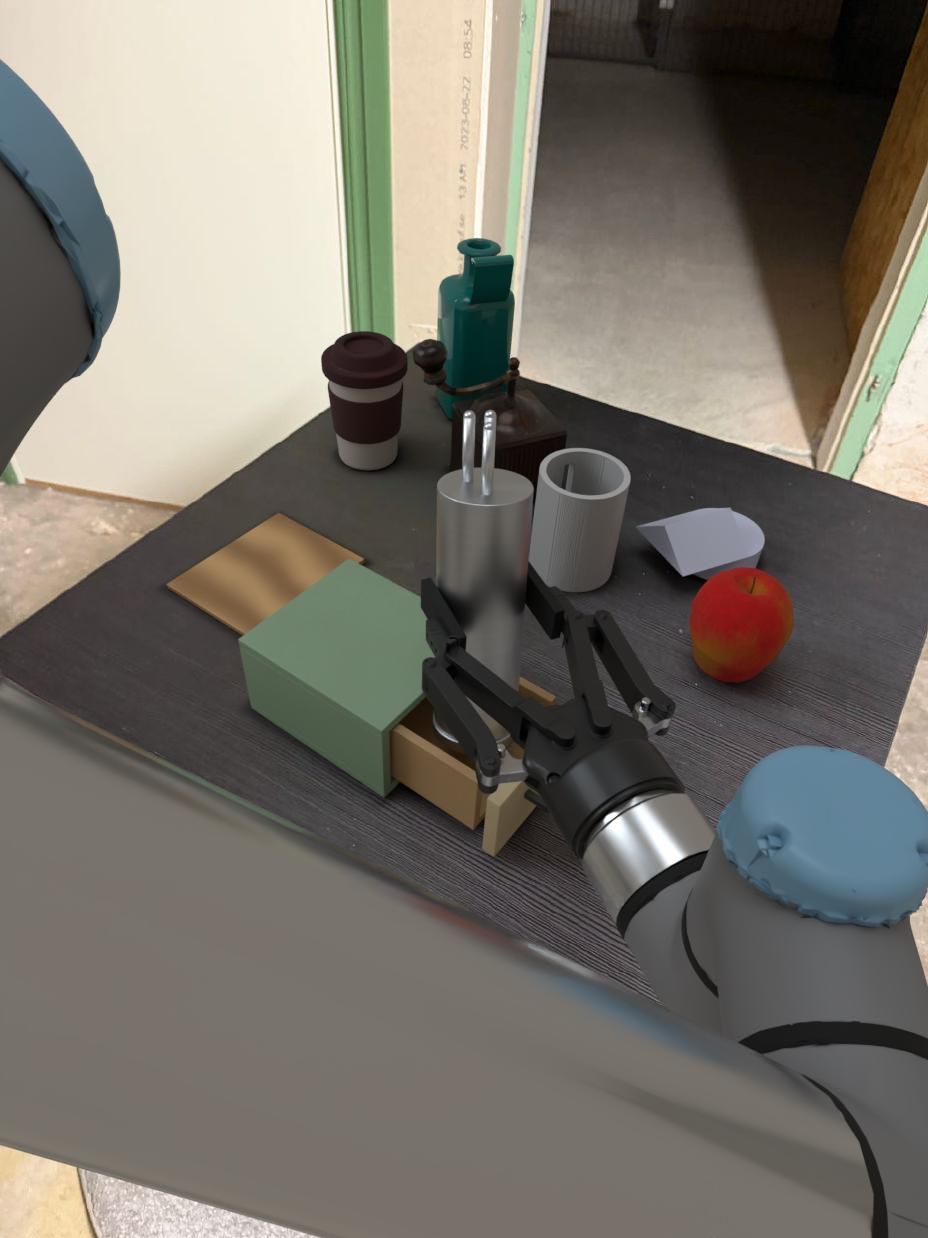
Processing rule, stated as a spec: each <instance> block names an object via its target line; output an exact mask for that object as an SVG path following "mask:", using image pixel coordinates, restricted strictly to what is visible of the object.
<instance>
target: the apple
mask: <svg viewBox="0 0 928 1238" xmlns="http://www.w3.org/2000/svg"><path fill="white" fill-rule="evenodd" d="M794 617H795V616H794V607H793V602H792V597H791V595H790V594H789V592H788V591H787V590H786V589H785V587H784V586H783V585H782V584H781V582H780V581H779V580H778V579H777V578H776V577H774V576H772V575H771V574H770V573H768V572H766V571H764V570H762V569H759V568H757V567H756V568H748V567H739V568H734V569H730V570H726V571H722V572H720V573H718V574H716V575H714V576H713V577H711V578H710V579H709V580H707V581H706V582H705V583H704V584H703V585H702V586H701V587H700V588H699V590H698V591H697V593H696V595H695V596H694V599H693V602H692V606H691V611H690V617H689V621H688V625H689V632H690V638H691V639H690V640H691V646H692V656H693V660H694V661H695V663H696V664H697V665H698V668H699V669H700V670H702V671H703V672H704V673H705V674H706V675H708V676H709V677H710V678H713V679H715V680H718V681H720V682H723V683H742V682H744V681H748V680H749V681H750V680H751V679H753V678H754V677H756V676H757V675H759V674H760V673H761V672H762V671H763V670H764V669H766V668H767V667H768V666H769V665H770V664H771V663H772V662H773V661H774V660H776V659H777V658H778V656H779V655H780V653H781V652H782V650H783V649H784V647H785V645H786V644H787V642H788V641H789V640H790V638H791V635H792V632H793V630H794V627H795V619H794Z"/></svg>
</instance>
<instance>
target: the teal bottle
mask: <svg viewBox="0 0 928 1238" xmlns="http://www.w3.org/2000/svg"><path fill="white" fill-rule="evenodd" d="M456 250H457V251H458V252H459V253H460V254H461V255H463V266H462V273H455V274H452V275H448V276H446V277H444V278H443V279H442V280H440V283H439V286H438V290H437V324H436V325H437V329H436V340H438V341H441V342H442V343H443V345H444V346H445V348H446V349H447V351H448V356H447V359H446V361H445V363H444V365H443V367H444V369H445V371H446V372H447V374H448V376H447V379H446V380H445V383H447V384H448V385H449V386H451V387H453V388H469V387H473V386H476V385H480V384H484V383H487V382H490V381H493V380H494V379H496V378H498V377H501V376H502V375H504V374H506V372H507V370H508V369H509V363H508V361H509V360H510V359H511V353H512V343H513V332H514V330H513V329H514V319H515V310H516V309H515V308H516V298H515V294H514V293H513V291H512V290H511V288H512V281H513V280H512V279H513V274H514V266H515V265H514V264H515V259H514V256H513V255H512V254H501V255H499V254H500V253H501V252H502V246H501V245H500V244H499V243H498V242H496V241H494V240H491V239H488V238H483V237H472V238H471V237H470V238H467V239H466V238H465V239H463V240H461V241H459V242H458V243H457V246H456ZM500 387H501V392H507V391H508V382H507V383H505V384H503V385H501V386H500ZM493 392H494V388H493V389H490V390H487V391H484V392H480V393H477V394H473V395H467V396H452V395H449V394H446V393H444V392H443V391H442V390H440V389H439V388H437V386H436V385H435V398H436V401H437V403H438V404H439V406H440V407H441V409H442V410H443V412H444V414H445V416H446V417H447V418H448V419H450V420H451V421H452V406H453V403H455V402H460V401H465V400H471V399H476V398H479V397H481V396H482V395H485V394H488V393H493ZM436 394H437V395H436ZM437 396H438V397H439V399H438V397H437ZM441 403H442V404H441Z"/></svg>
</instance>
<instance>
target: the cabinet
mask: <svg viewBox="0 0 928 1238" xmlns="http://www.w3.org/2000/svg"><path fill="white" fill-rule="evenodd" d="M426 620H428V619H427V617H426V616H425V614H424V612H423V610H422V609H421V596H419V595H417V593H416V594H415V593H414V592H412V591H410V590H409V589H406V588H404V587H402V586H401V585H399V584H397V583H395V582H393V581H392V580H390V579H388V578H386V577H385V576H382V575H381V574H379V573H377V572H375V571H373V570H371V569H370V568H368V567H366V566H364V565H363V564H362V565H360V564H359V563H357V562H355V561H353V560H351V559H347V560H346V561H345V562H343V563H342V564H341V565H339V566H338V567H337V568H335V569H334V570H332V571H331V572H330V573H328V574H327V575H326V576H324V577H323V578H321V579H320V580H319V581H317V582H316V583H315V584H313V585H312V586H310V587H309V588H308V589H306V590H305V591H304V592H302V593H301V594H300V595H298V596H297V597H295V598H294V599H293V600H291V601H290V602H289V603H287V604H286V605H284V606H283V607H282V608H280V609H279V610H278V611H276V612H275V613H273V614H272V615H271V616H269V617H268V618H267V619H265V620H264V621H263V622H261V623H260V624H258V625H257V626H256V627H254V628H253V629H252V630H250V631H249V632H247V633H246V634H245V635H243V636H242V635H241V636H240V637H239V638H238V639H237V642H238V647H239V653H240V656H241V662H242V663H241V664H242V667H243V672H244V678H245V682H246V683H245V684H246V689H247V694H248V698H249V703H250V707H251V709H253V710H254V711H255V712H257V713H258V714H260V715H261V716H263V717H264V718H265V719H267V720H268V721H270V722H272V723H273V724H274V725H276V726H277V727H279V728H280V729H281V730H283V731H284V732H286V733H288V734H289V735H291V736H292V737H293V738H295V739H296V740H297V741H299V742H301V743H302V744H304V745H305V746H306V747H308V748H310V749H311V750H313V751H314V752H316V753H317V754H318V755H320V756H321V757H323V758H325V760H328V761H329V762H330V763H332V764H333V765H335V766H336V767H337V768H339V769H341V770H342V771H344V772H345V773H347V774H348V775H349V776H351V777H352V778H354V779H355V780H356V781H358V782H360V783H361V784H363V785H364V786H366V787H367V788H368V789H370V790H372V791H373V792H374V793H375V794H377V795H379V796H381V797H382V798H383V799H384V798H386V797H387V796H388V795H389V794H390V793H391V792H392V791H393V790H394V789H395V788H396V787H397V786H398V785H399V784H401V782H400V781H399V780H397V779H396V778H394V777H392V776H391V774H390V738H389V731H390V730H391V729H392V728H393V727H394V726H395V725H397V724H398V723H399V722H400V721H401V720H402V719H403V718H404V717H405V716H406V715H407V714H408V713H409V712H410V711H411V710H412V709H413V708H415V707H416V706H417V705H418V704H419V703H420V702H421V701H422V700H423V699H424V698H425V697H426V695H425V694H424V693H423V691H422V662H423V660H424V659H426V658H429V657H434V658H435V656H434V654H433V652H432V650H431V649H430V647H429V645H428V643H427V642H426Z"/></svg>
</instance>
